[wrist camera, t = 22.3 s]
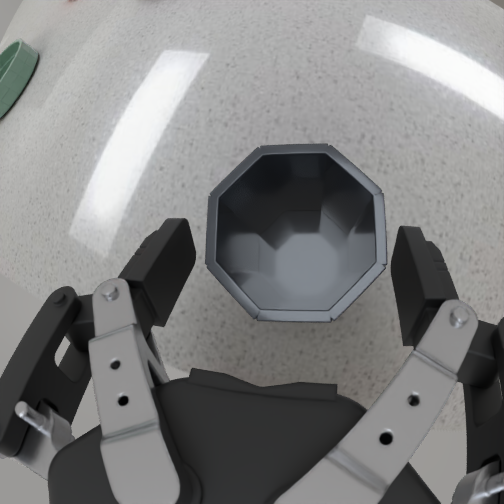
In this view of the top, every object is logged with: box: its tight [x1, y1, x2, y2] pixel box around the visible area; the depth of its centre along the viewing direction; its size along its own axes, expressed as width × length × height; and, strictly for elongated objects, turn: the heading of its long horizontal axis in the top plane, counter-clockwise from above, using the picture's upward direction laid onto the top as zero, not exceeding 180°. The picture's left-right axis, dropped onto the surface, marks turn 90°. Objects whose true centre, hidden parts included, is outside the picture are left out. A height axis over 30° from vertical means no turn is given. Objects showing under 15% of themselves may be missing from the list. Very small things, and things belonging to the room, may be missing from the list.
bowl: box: [0, 39, 38, 118], centre depth 28 cm, size 14×14×5 cm
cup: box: [205, 144, 387, 323], centre depth 14 cm, size 6×6×8 cm
